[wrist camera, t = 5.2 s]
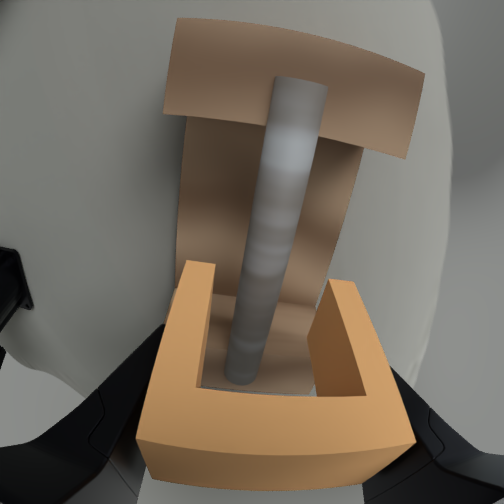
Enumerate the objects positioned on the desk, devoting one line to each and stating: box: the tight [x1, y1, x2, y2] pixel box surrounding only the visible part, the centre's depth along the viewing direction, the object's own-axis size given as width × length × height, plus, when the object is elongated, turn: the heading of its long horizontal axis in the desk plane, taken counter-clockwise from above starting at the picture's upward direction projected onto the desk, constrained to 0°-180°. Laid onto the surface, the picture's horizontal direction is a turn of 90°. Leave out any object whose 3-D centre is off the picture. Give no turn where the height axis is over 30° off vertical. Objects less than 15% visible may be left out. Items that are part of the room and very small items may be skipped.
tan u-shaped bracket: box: [136, 260, 416, 491], centre depth 8 cm, size 6×3×6 cm, turn 81°
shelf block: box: [163, 18, 425, 394], centre depth 16 cm, size 20×10×7 cm, turn 171°
